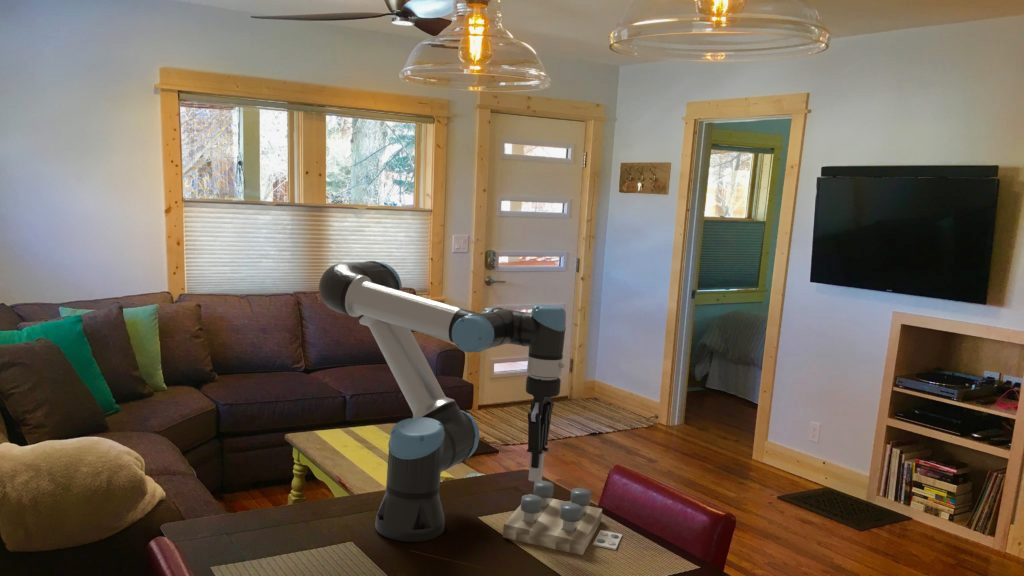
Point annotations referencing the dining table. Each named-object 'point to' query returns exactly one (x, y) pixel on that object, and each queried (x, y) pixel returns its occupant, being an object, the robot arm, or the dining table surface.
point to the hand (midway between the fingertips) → (535, 480)
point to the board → (553, 528)
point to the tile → (607, 540)
